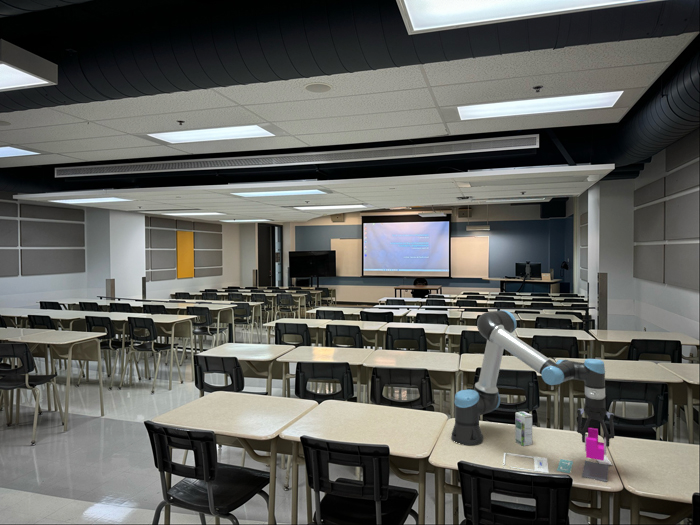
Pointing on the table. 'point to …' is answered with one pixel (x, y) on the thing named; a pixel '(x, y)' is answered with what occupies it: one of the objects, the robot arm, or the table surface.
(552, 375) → the robot arm
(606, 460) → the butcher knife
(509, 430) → the table surface
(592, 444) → the toy block
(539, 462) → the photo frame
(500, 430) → the table surface
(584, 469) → the mat
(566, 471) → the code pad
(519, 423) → the syrup box
